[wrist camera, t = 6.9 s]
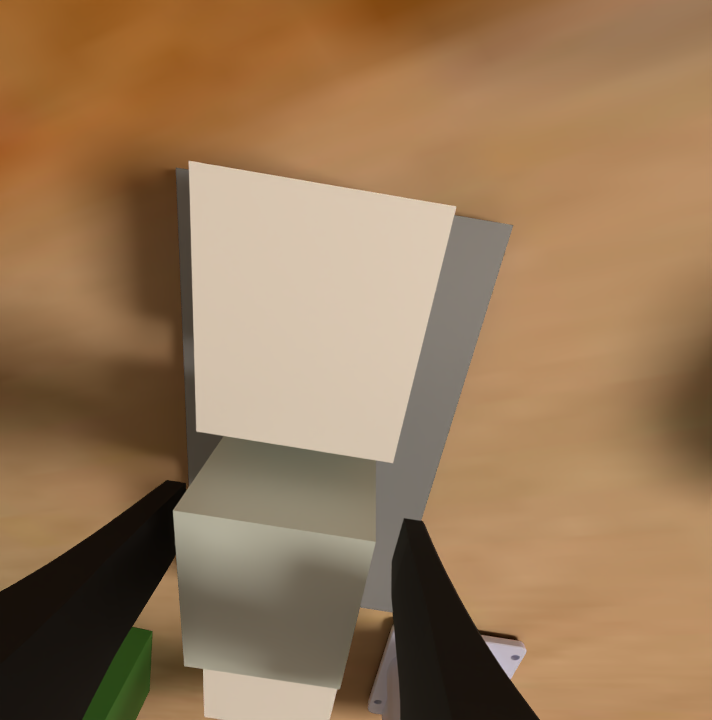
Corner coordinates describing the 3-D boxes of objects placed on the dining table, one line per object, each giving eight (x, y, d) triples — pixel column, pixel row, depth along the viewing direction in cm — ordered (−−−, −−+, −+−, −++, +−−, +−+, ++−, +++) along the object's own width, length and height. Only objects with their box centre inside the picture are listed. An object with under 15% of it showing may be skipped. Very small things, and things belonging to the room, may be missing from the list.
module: (352, 520, 16) (339, 689, 10) (249, 504, 16) (179, 665, 10) (375, 404, 13) (375, 541, 8) (253, 385, 13) (166, 509, 8)
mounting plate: (391, 594, 20) (398, 746, 14) (201, 564, 20) (130, 705, 14) (502, 224, 12) (614, 233, 7) (191, 171, 12) (25, 132, 6)
